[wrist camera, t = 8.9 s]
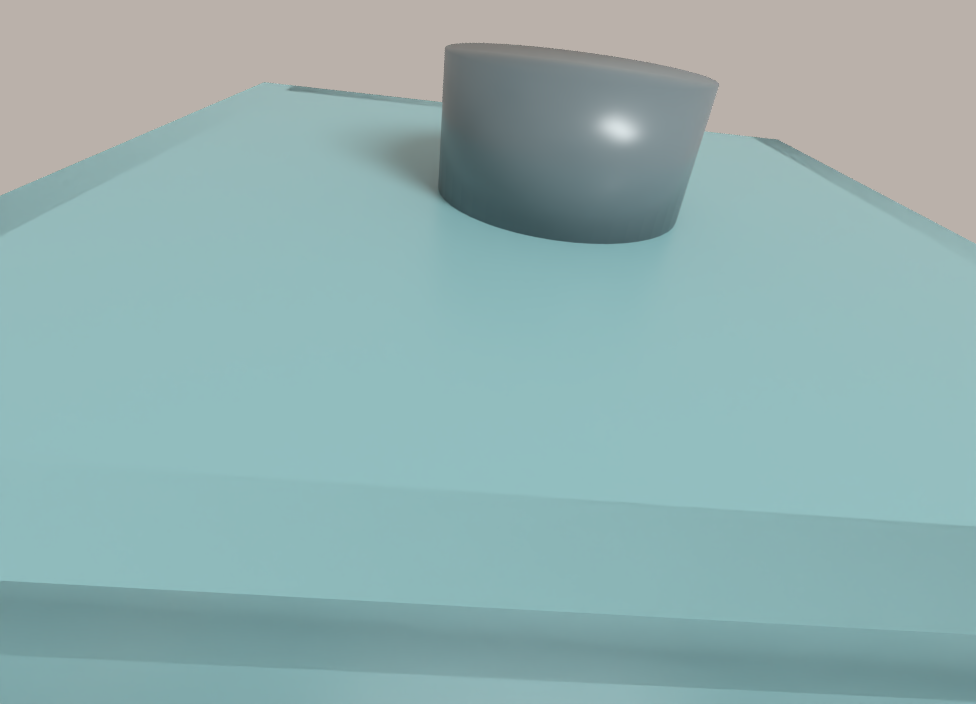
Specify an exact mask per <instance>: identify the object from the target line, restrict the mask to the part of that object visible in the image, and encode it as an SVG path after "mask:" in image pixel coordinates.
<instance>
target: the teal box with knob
mask: <svg viewBox="0 0 976 704" xmlns="http://www.w3.org/2000/svg"><path fill="white" fill-rule="evenodd" d="M718 87H719V83H718V82H717V81H715V80H713V79H711V78H708V77H706V76H703V75H699V74H696V73H692V72H689V71H685V70H681V69H676V68H672V67H667V66H662V65H658V64H652V63H648V62H642V61H637V60H631V59H625V58H619V57H613V56H606V55H599V54H593V53H585V52H578V51H569V50H562V49H553V48H543V47H533V46H522V45H509V44H489V43H462V44H461V43H460V44H451V45H448V46H446V47H445V61H444V83H443V101H442V102H435V101H426V100H417V99H409V98H400V97H391V96H381V95H373V94H364V93H355V92H346V91H337V90H328V89H319V88H311V87H301V86H292V85H283V84H274V83H266V82H264V83H261V84H259V85H257V86H254V87H252V88H250V89H247V90H245V91H243V92H240V93H238V94H236V95H233V96H231V97H229V98H227V99H224V100H222V101H219V102H217V103H215V104H212V105H210V106H208V107H206V108H203V109H201V110H199V111H196V112H194V113H192V114H189V115H187V116H185V117H182V118H180V119H178V120H175V121H173V122H171V123H168V124H166V125H164V126H161V127H159V128H157V129H155V130H152V131H150V132H147V133H145V134H143V135H141V136H138V137H136V138H134V139H131V140H129V141H126V142H124V143H122V144H120V145H117V146H115V147H113V148H110V149H108V150H106V151H103V152H101V153H99V154H96V155H94V156H92V157H89V158H87V159H85V160H82V161H80V162H78V163H75V164H73V165H71V166H68V167H66V168H64V169H61V170H59V171H57V172H55V173H52V174H50V175H47V176H45V177H43V178H40V179H38V180H36V181H34V182H31V183H29V184H27V185H24V186H22V187H20V188H17V189H15V190H13V191H10V192H8V193H6V194H3V195H1V196H0V704H976V244H975V243H973V242H971V241H969V240H967V239H966V238H963V237H962V236H960V235H958V234H956V233H954V232H952V231H950V230H948V229H947V228H945V227H942V226H941V225H939V224H937V223H935V222H933V221H931V220H929V219H928V218H926V217H924V216H922V215H920V214H918V213H916V212H914V211H912V210H910V209H908V208H907V207H905V206H903V205H901V204H899V203H897V202H895V201H893V200H891V199H890V198H888V197H886V196H884V195H882V194H880V193H878V192H876V191H874V190H872V189H870V188H869V187H867V186H865V185H863V184H861V183H859V182H857V181H855V180H853V179H852V178H850V177H848V176H846V175H844V174H842V173H840V172H838V171H836V170H834V169H833V168H831V167H829V166H827V165H825V164H823V163H821V162H819V161H817V160H815V159H814V158H811V157H810V156H808V155H806V154H804V153H802V152H800V151H798V150H796V149H794V148H793V147H791V146H789V145H787V144H785V143H783V142H781V141H779V140H776V139H766V138H757V137H749V136H740V135H730V134H721V133H713V132H704V131H705V128H706V125H707V122H708V119H709V115H710V112H711V109H712V106H713V103H714V99H715V96H716V93H717V90H718Z"/></svg>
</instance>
